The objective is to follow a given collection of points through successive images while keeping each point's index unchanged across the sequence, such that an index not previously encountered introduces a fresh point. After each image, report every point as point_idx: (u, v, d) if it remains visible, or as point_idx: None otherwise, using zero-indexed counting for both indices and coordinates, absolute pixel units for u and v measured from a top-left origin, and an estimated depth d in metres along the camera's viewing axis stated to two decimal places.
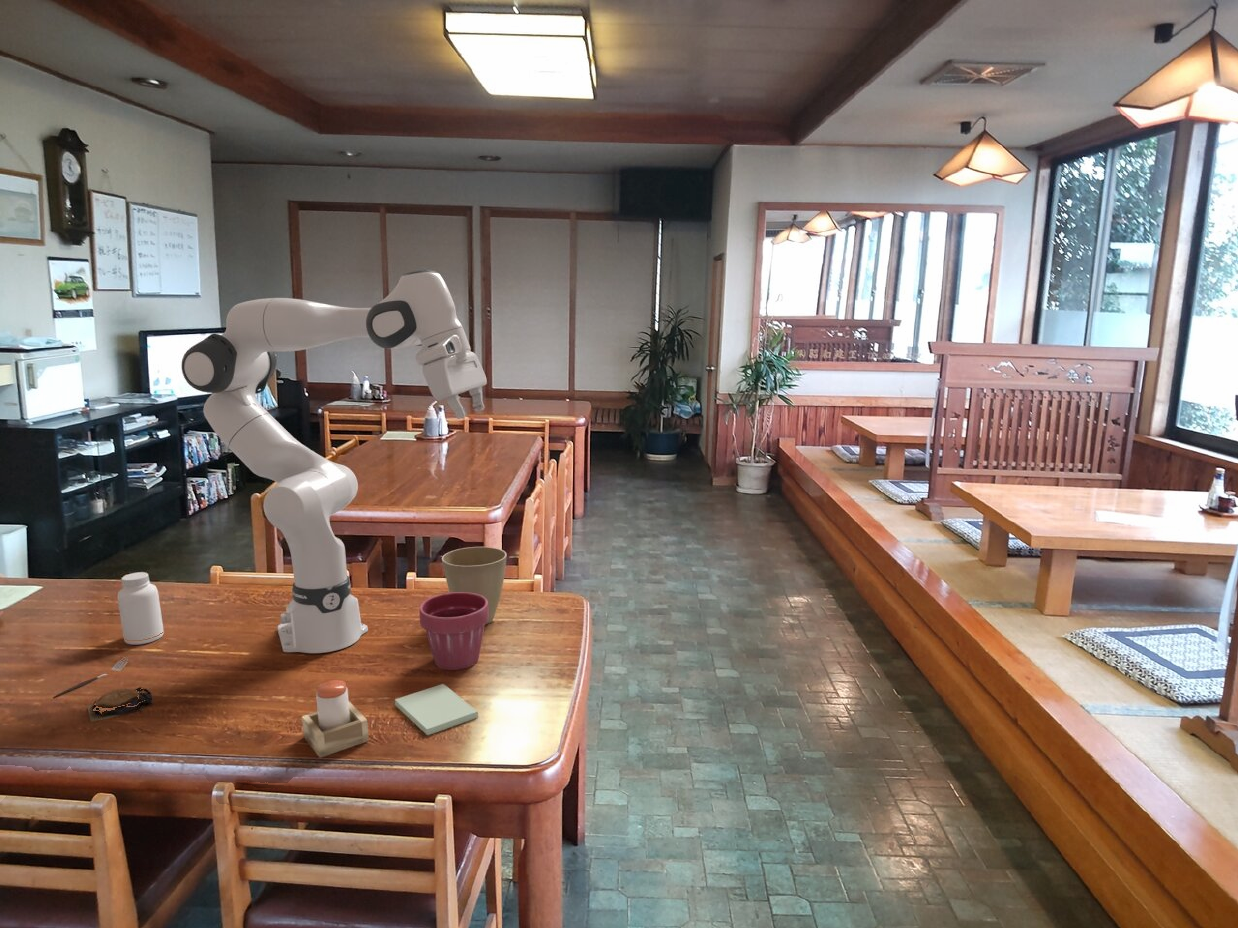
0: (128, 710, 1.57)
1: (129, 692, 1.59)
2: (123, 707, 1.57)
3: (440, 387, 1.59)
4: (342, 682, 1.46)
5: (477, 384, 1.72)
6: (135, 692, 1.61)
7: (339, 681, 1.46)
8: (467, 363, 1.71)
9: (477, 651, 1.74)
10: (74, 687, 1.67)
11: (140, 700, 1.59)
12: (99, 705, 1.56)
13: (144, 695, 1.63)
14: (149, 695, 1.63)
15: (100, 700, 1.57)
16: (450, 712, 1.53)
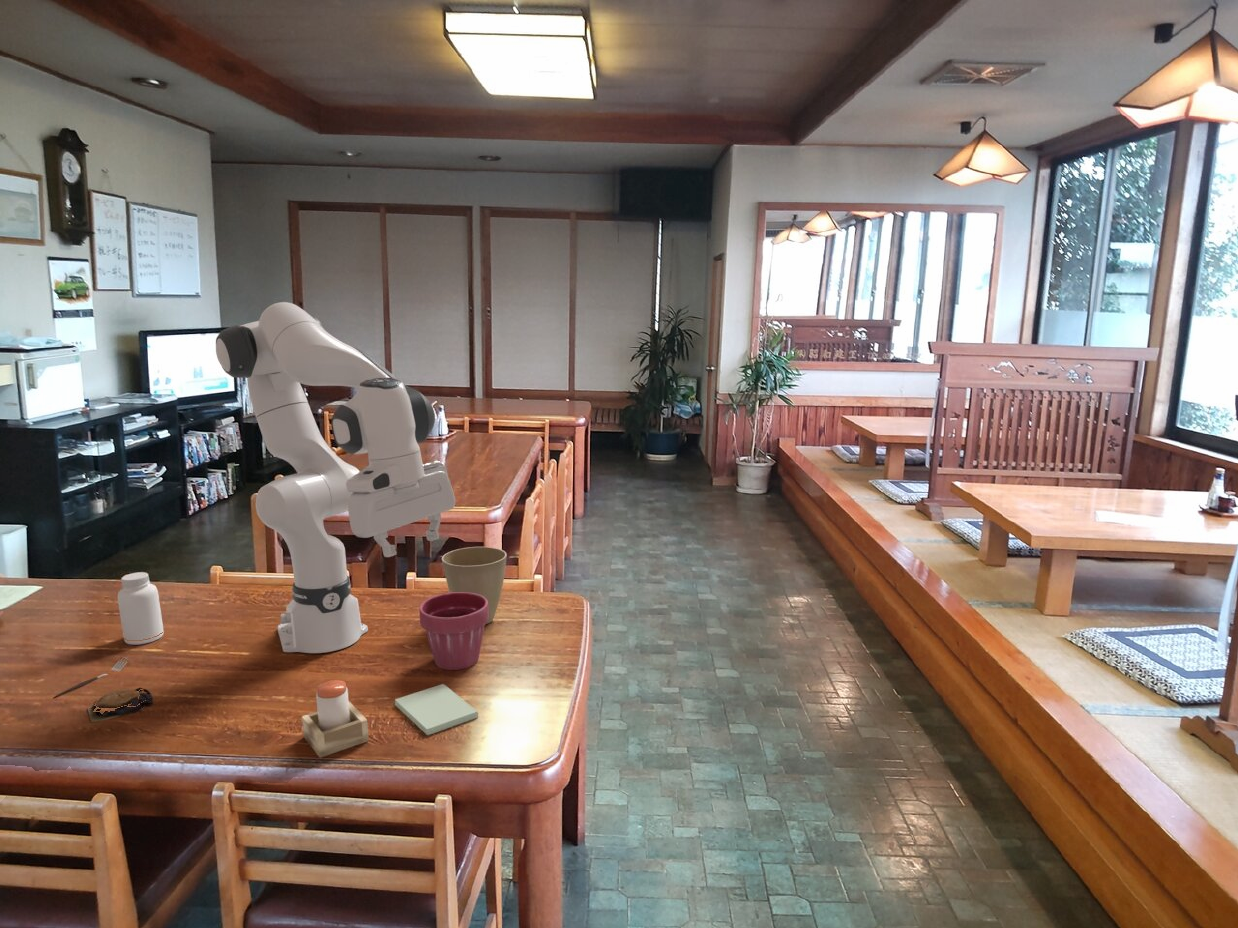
0: (129, 710, 1.56)
1: (130, 692, 1.59)
2: (124, 707, 1.57)
3: (357, 526, 1.39)
4: (342, 682, 1.46)
5: (431, 512, 1.49)
6: (135, 692, 1.61)
7: (339, 681, 1.46)
8: (423, 488, 1.48)
9: (477, 651, 1.74)
10: (74, 687, 1.67)
11: (141, 700, 1.59)
12: (100, 706, 1.56)
13: (144, 695, 1.63)
14: (149, 695, 1.63)
15: (100, 701, 1.57)
16: (450, 712, 1.53)
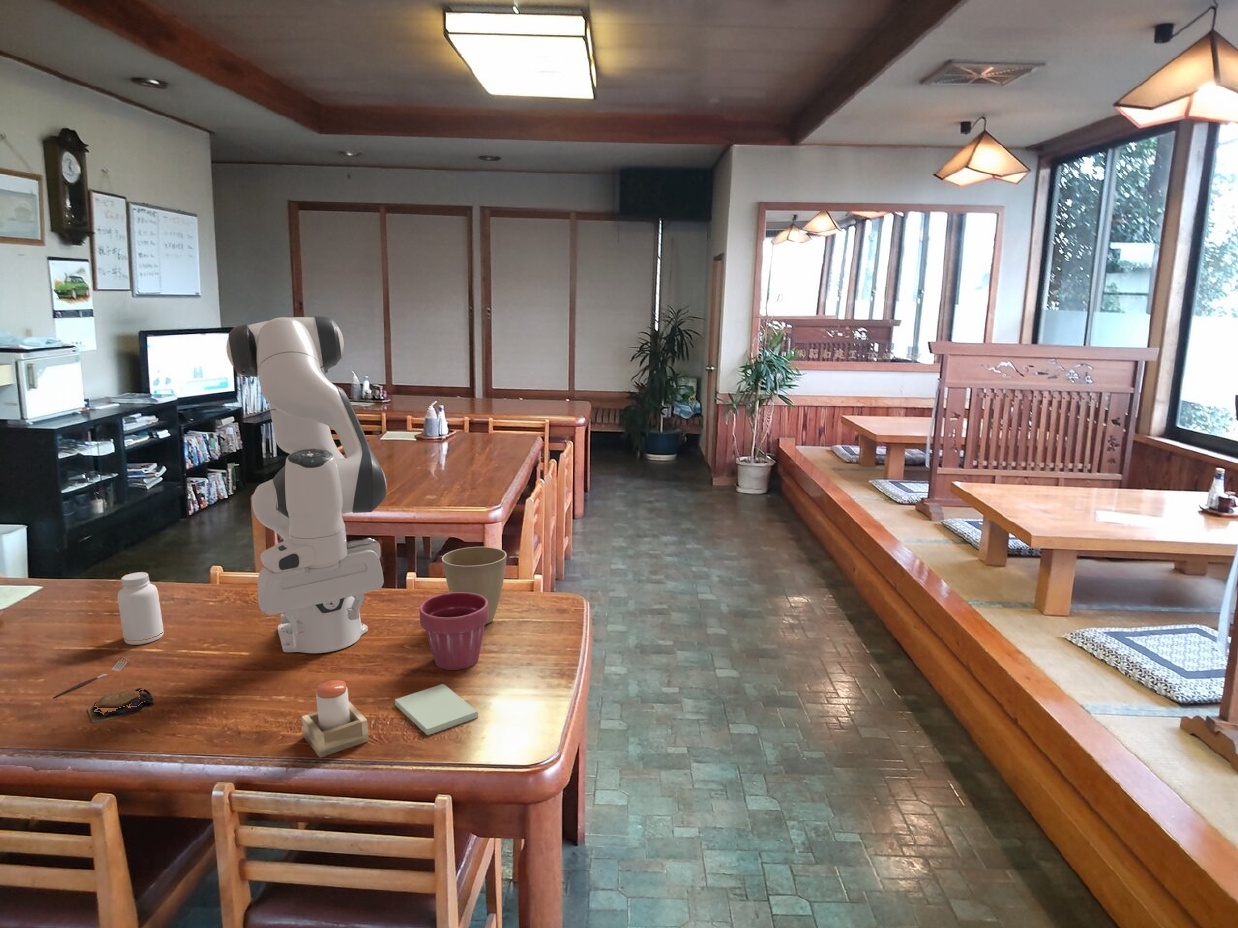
0: (130, 710, 1.56)
1: (130, 693, 1.59)
2: (124, 708, 1.57)
3: (261, 602, 1.35)
4: (342, 682, 1.46)
5: (351, 593, 1.42)
6: (135, 693, 1.61)
7: (339, 681, 1.46)
8: (344, 568, 1.41)
9: (477, 651, 1.74)
10: (74, 687, 1.67)
11: (141, 700, 1.58)
12: (100, 706, 1.56)
13: (144, 695, 1.63)
14: (149, 695, 1.63)
15: (101, 701, 1.57)
16: (450, 712, 1.53)
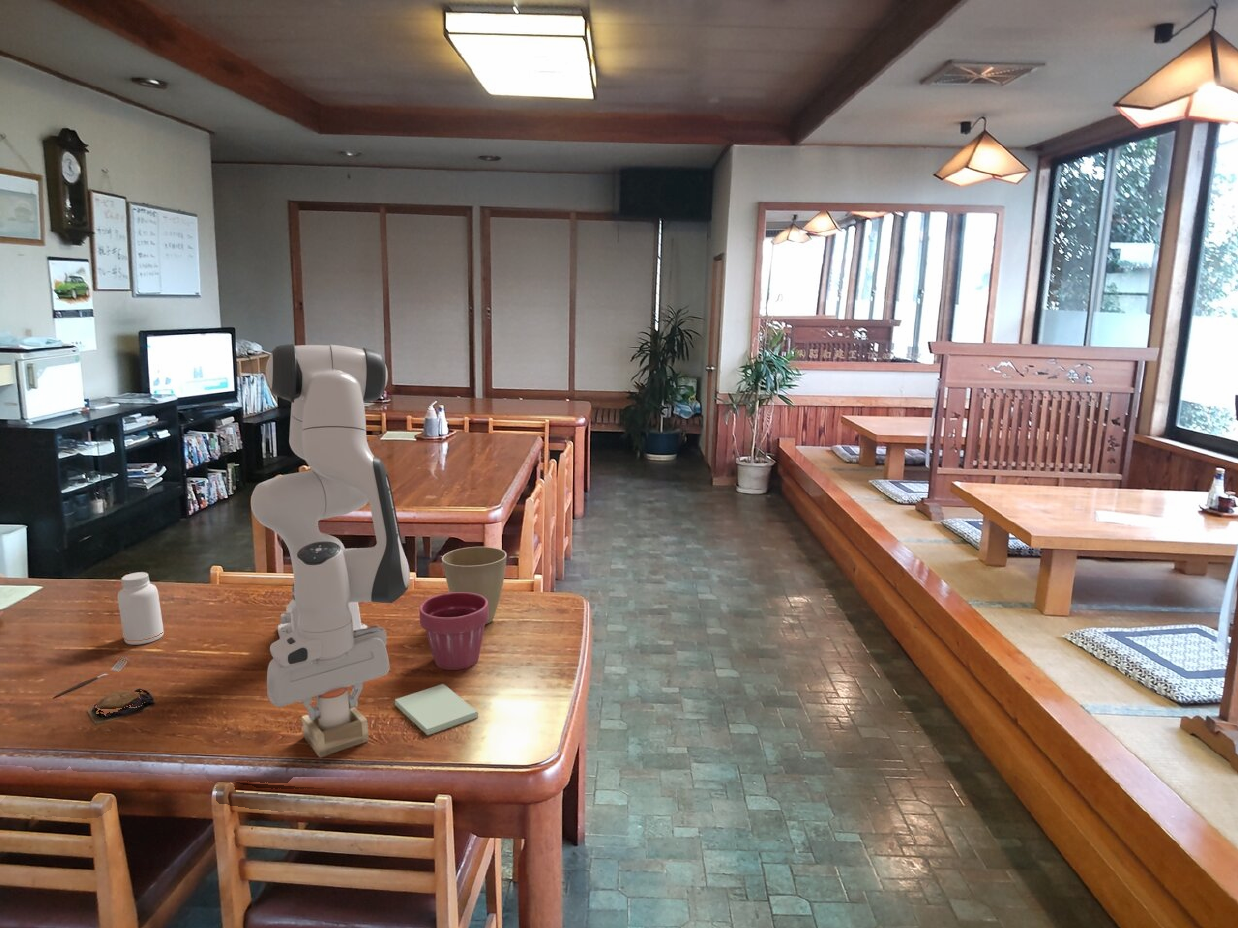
0: (132, 711, 1.56)
1: (131, 693, 1.59)
2: (126, 708, 1.57)
3: (270, 694, 1.38)
4: None
5: (358, 681, 1.46)
6: (136, 693, 1.60)
7: None
8: (351, 656, 1.44)
9: (477, 651, 1.74)
10: (74, 687, 1.67)
11: (143, 700, 1.58)
12: (102, 707, 1.55)
13: (144, 696, 1.62)
14: (149, 696, 1.63)
15: (102, 703, 1.56)
16: (450, 712, 1.53)
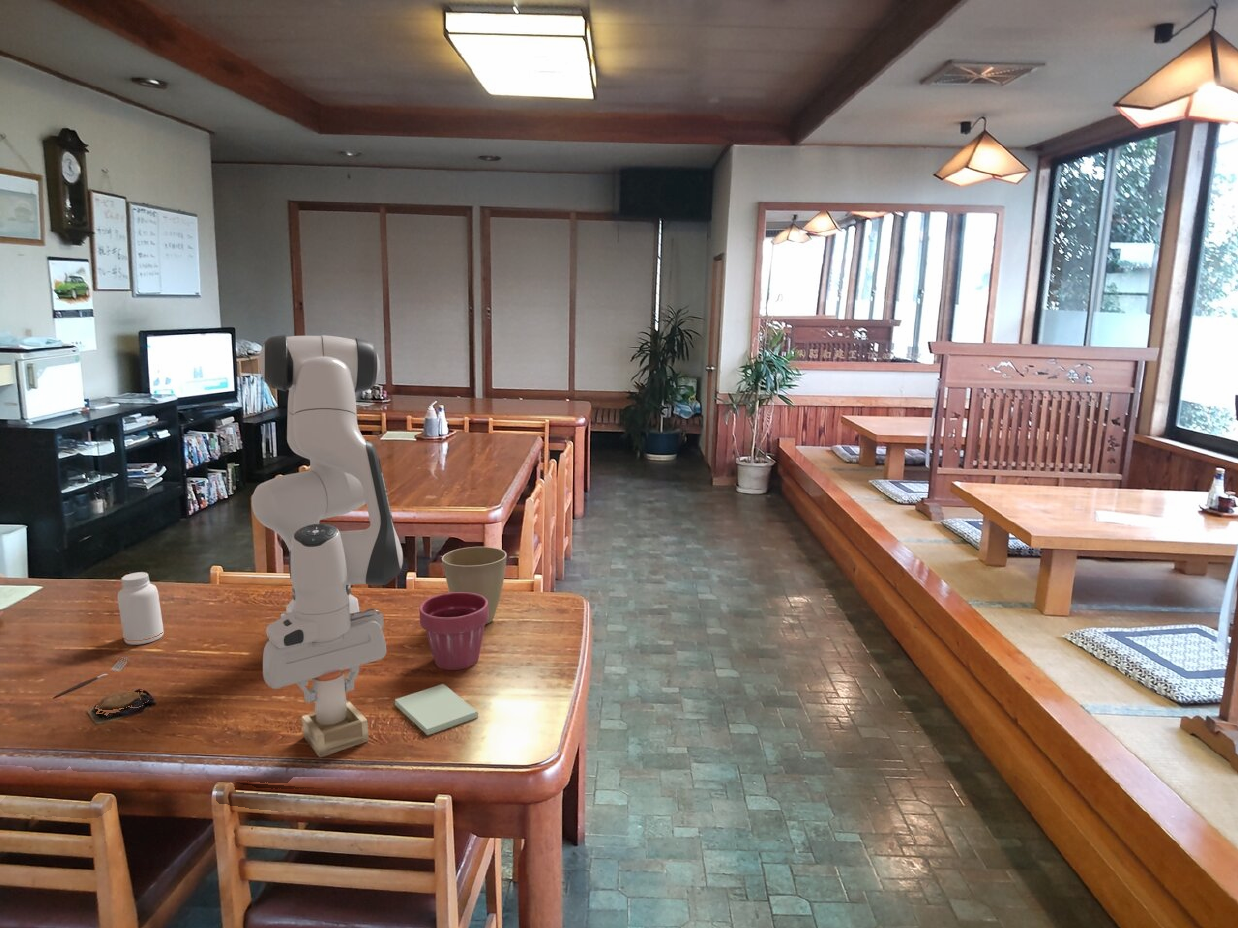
0: (133, 711, 1.56)
1: (132, 694, 1.59)
2: (127, 708, 1.57)
3: (266, 676, 1.38)
4: None
5: (354, 664, 1.45)
6: (136, 693, 1.60)
7: None
8: (348, 639, 1.44)
9: (477, 651, 1.74)
10: (74, 687, 1.67)
11: (144, 701, 1.58)
12: (102, 708, 1.55)
13: (144, 696, 1.62)
14: (149, 696, 1.63)
15: (103, 703, 1.56)
16: (450, 712, 1.53)
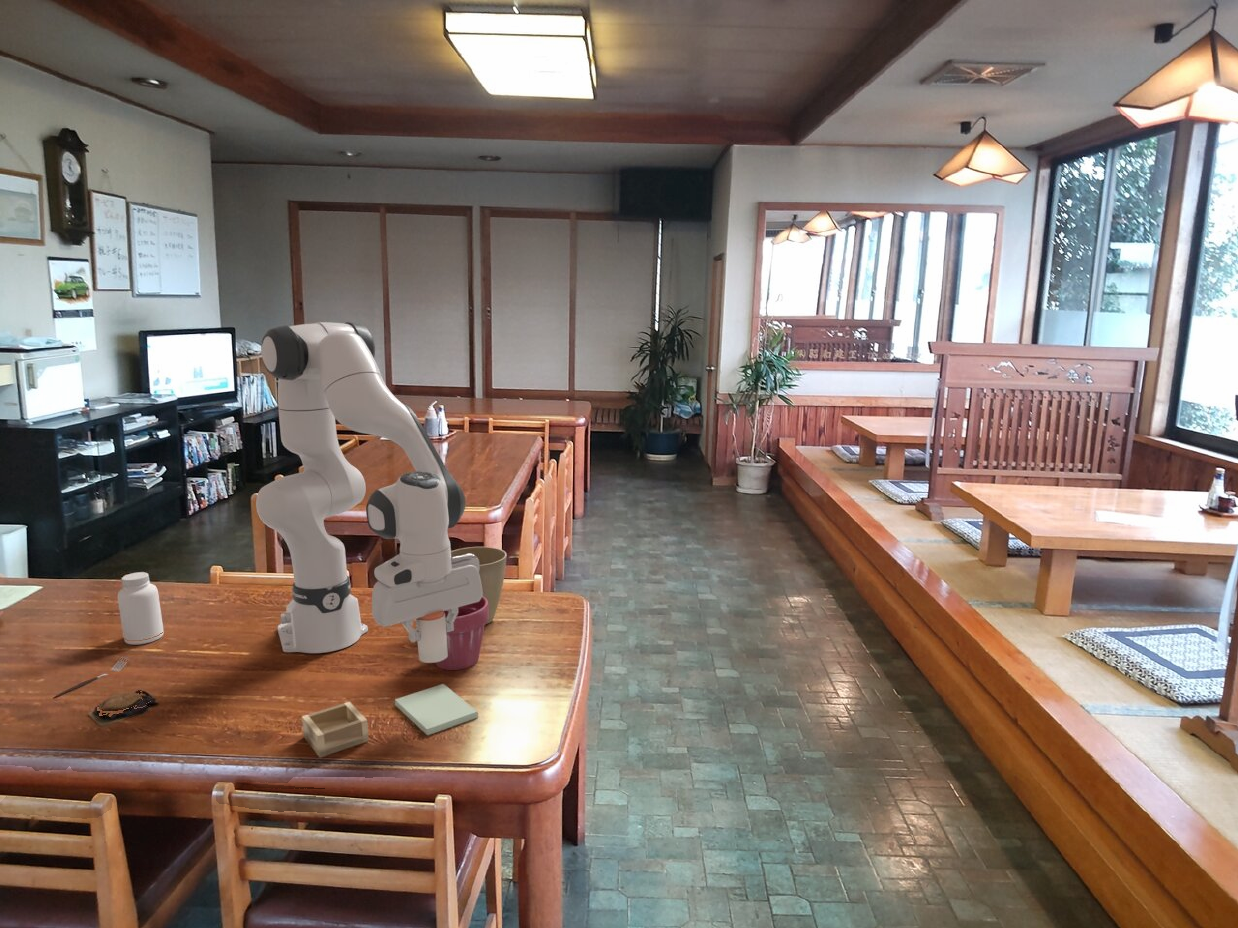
0: (137, 711, 1.56)
1: (134, 694, 1.58)
2: (130, 709, 1.56)
3: (376, 614, 1.45)
4: None
5: (454, 605, 1.53)
6: (138, 694, 1.60)
7: None
8: (449, 581, 1.51)
9: (477, 651, 1.74)
10: (74, 687, 1.67)
11: (147, 701, 1.58)
12: (105, 709, 1.55)
13: (145, 697, 1.62)
14: (150, 697, 1.63)
15: (105, 704, 1.55)
16: (450, 712, 1.53)
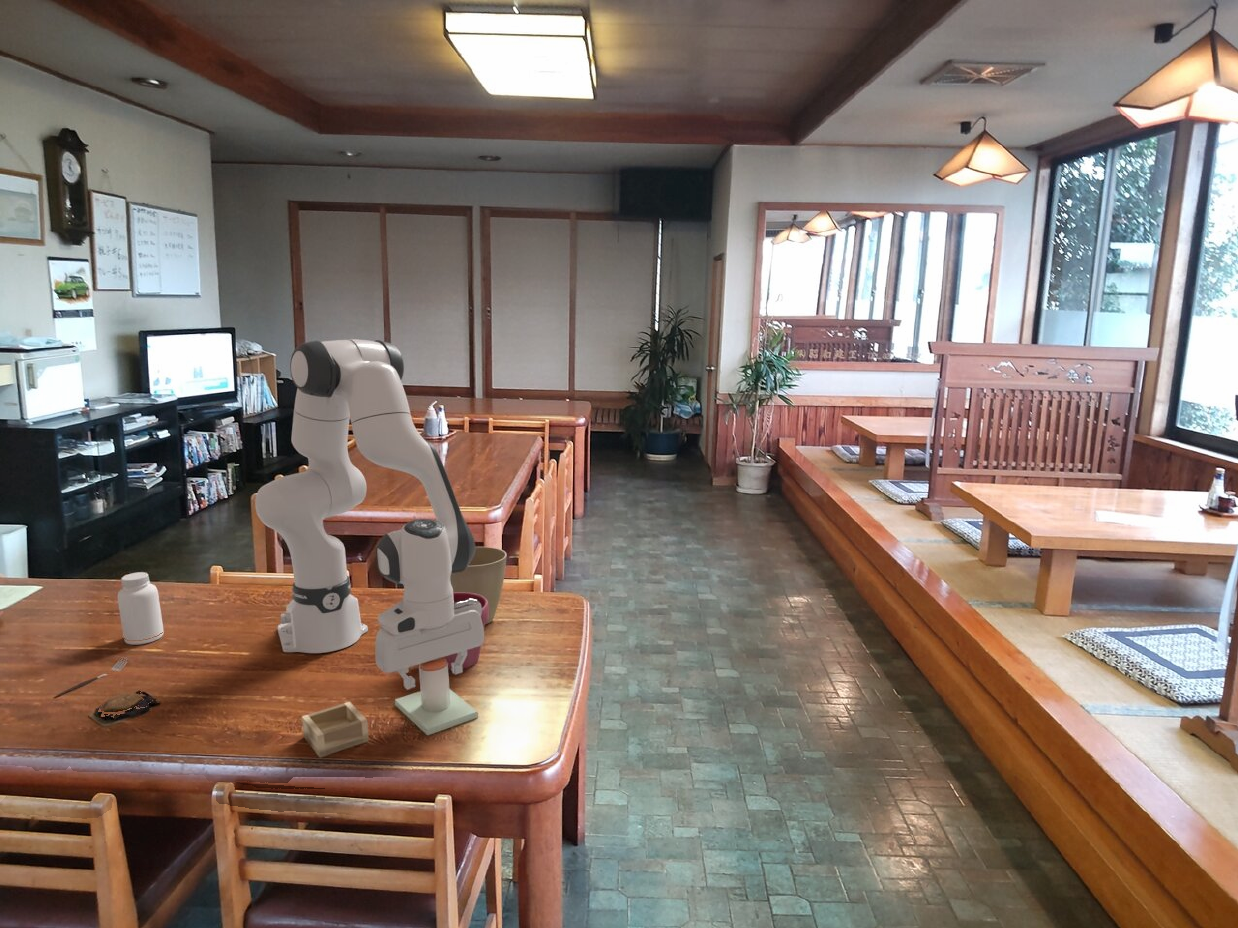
0: (140, 711, 1.56)
1: (135, 695, 1.58)
2: (132, 709, 1.56)
3: (379, 661, 1.47)
4: None
5: (456, 650, 1.54)
6: (138, 695, 1.60)
7: None
8: (451, 627, 1.53)
9: (477, 651, 1.74)
10: (74, 687, 1.67)
11: (149, 701, 1.58)
12: (107, 710, 1.54)
13: (145, 697, 1.62)
14: (150, 697, 1.62)
15: (107, 705, 1.55)
16: (450, 712, 1.53)
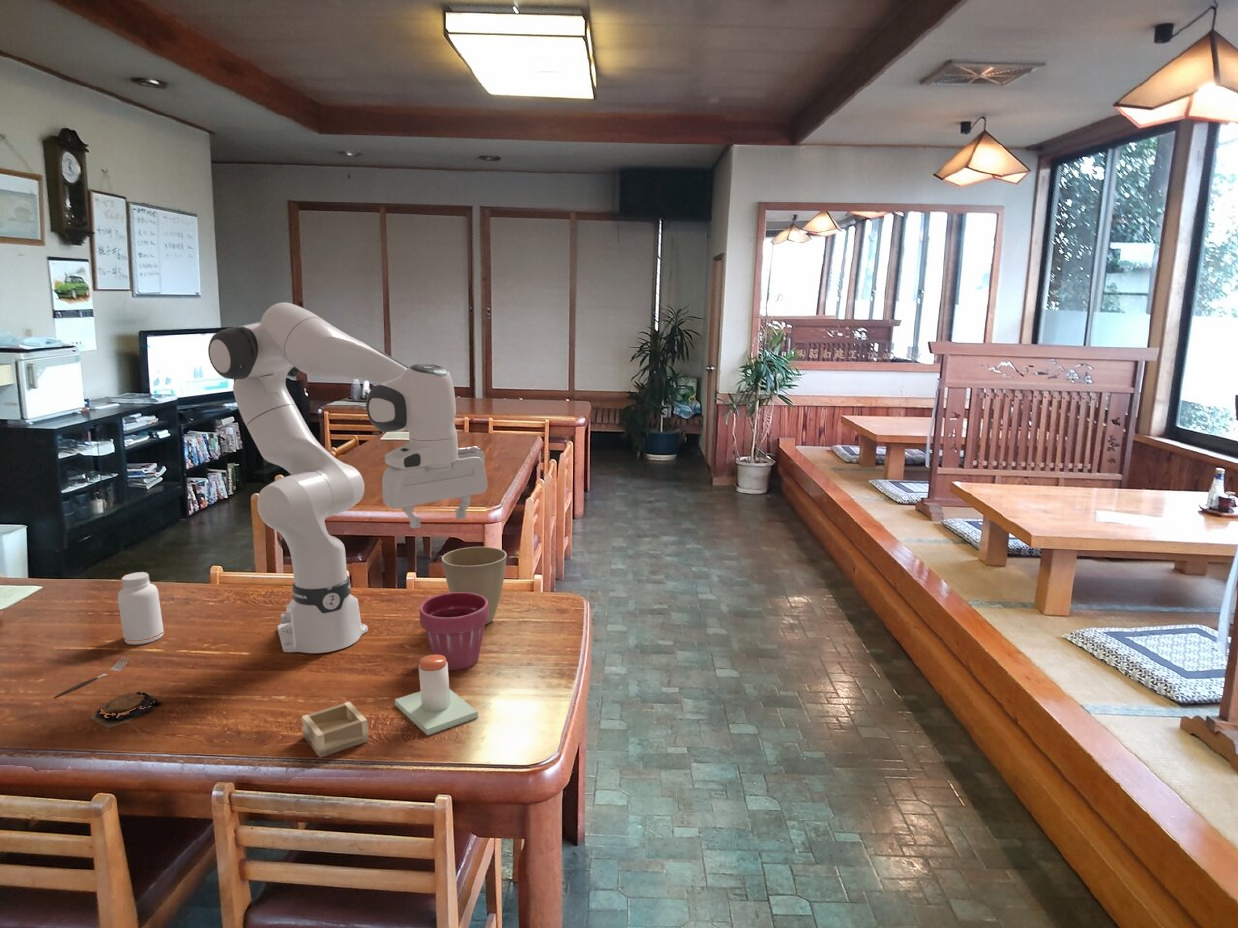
0: (144, 712, 1.56)
1: (137, 695, 1.58)
2: (136, 710, 1.56)
3: (386, 497, 1.52)
4: (442, 656, 1.55)
5: (460, 494, 1.60)
6: (140, 695, 1.60)
7: (439, 655, 1.55)
8: (455, 470, 1.59)
9: (477, 651, 1.74)
10: (74, 687, 1.67)
11: (151, 701, 1.58)
12: (111, 711, 1.54)
13: (146, 698, 1.62)
14: (151, 697, 1.62)
15: (109, 707, 1.54)
16: (450, 712, 1.53)
